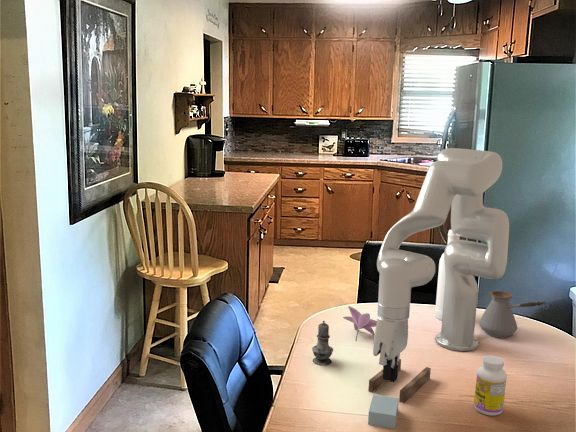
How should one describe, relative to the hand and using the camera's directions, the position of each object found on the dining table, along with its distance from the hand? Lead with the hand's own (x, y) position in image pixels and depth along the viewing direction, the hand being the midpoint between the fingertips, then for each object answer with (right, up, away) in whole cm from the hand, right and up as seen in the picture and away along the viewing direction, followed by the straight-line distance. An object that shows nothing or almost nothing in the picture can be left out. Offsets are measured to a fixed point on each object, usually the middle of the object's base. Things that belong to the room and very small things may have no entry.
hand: (389, 379), depth 149 cm
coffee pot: (+44, +2, +37) cm, 57 cm away
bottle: (+28, +6, +53) cm, 60 cm away
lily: (-3, +3, +36) cm, 36 cm away
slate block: (-3, -6, -10) cm, 12 cm away
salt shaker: (-16, 0, +18) cm, 24 cm away
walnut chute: (+4, -3, +6) cm, 7 cm away
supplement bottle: (+23, -6, -5) cm, 24 cm away
